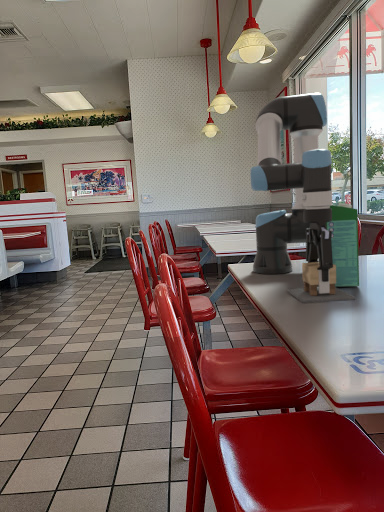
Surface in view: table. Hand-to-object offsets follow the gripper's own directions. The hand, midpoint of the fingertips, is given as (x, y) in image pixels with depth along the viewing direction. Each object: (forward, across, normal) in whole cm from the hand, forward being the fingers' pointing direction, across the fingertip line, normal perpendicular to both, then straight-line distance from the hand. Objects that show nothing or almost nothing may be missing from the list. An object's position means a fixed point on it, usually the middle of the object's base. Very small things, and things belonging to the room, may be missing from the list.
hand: (319, 289), depth 108 cm
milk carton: (+1, -10, +10) cm, 15 cm away
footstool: (+1, 0, 0) cm, 1 cm away
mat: (+2, 0, 0) cm, 2 cm away
